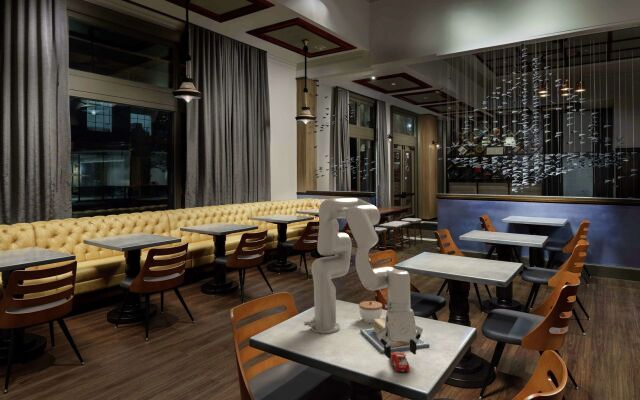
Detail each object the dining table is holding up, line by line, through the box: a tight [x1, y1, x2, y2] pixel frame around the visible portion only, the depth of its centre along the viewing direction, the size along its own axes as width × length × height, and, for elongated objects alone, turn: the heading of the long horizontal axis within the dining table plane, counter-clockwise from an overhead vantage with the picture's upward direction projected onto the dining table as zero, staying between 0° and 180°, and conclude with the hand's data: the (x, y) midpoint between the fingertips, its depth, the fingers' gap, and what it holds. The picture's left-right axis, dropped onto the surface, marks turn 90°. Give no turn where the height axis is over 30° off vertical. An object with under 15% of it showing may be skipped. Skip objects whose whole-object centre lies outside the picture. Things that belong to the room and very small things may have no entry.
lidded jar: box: [358, 300, 383, 324], centre depth 179 cm, size 11×11×9 cm
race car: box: [389, 351, 410, 373], centre depth 135 cm, size 13×5×4 cm, turn 177°
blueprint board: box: [359, 317, 430, 355], centre depth 157 cm, size 20×22×6 cm
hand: (400, 354), depth 134 cm, fingers open, 9 cm apart
